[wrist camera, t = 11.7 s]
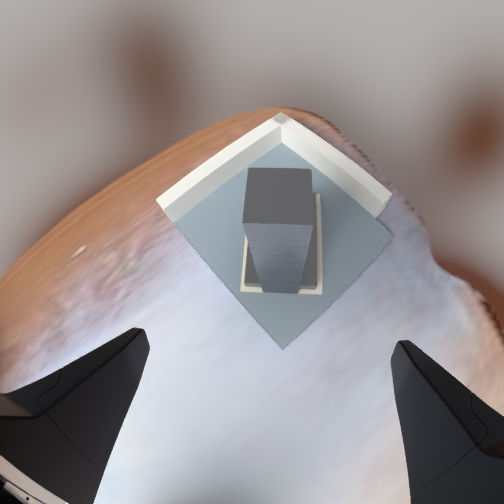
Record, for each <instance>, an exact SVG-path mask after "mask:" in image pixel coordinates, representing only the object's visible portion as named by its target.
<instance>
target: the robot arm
mask: <svg viewBox="0 0 504 504" xmlns="http://www.w3.org/2000/svg"><path fill="white" fill-rule="evenodd" d="M149 350H150V346H149V342H148V339H147V336H146V333H145V330H144V329H141V328H132V329H130V330H128V331H126V332H125V333H123V334H121V335H119V336H118V337H116V338H114V339H112V340H111V341H109V342H107V343H105V344H103V345H102V346H100V347H98V348H96V349H95V350H93V351H91V352H89V353H87V354H86V355H84V356H82V357H80V358H79V359H77V360H75V361H73V362H71V363H70V364H68V365H66V366H64V367H63V368H61V369H59V370H57V371H55V372H53V373H52V374H50V375H48V376H46V377H44V378H42V379H40V380H37V381H35V382H33V383H31V384H29V385H26V386H24V387H22V388H19V389H17V390H15V391H12V392H10V393H4V394H0V504H65V503H66V502H67V503H69V504H93V503H94V500H95V497H96V494H97V491H98V488H99V485H100V482H101V480H102V477H103V474H104V471H105V468H106V465H107V463H108V460H109V457H110V455H111V452H112V449H113V447H114V444H115V442H116V439H117V437H118V434H119V431H120V429H121V427H122V424H123V422H124V419H125V417H126V414H127V412H128V409H129V407H130V405H131V402H132V400H133V397H134V395H135V393H136V390H137V388H138V386H139V383H140V380H141V377H142V373H143V370H144V367H145V364H146V360H147V357H148V354H149ZM391 369H392V377H393V385H394V394H395V401H396V406H397V411H398V416H399V421H400V426H401V431H402V437H403V443H404V449H405V455H406V462H407V470H408V478H409V487H410V497H411V498H410V499H411V504H504V416H502V415H501V414H499V413H498V412H497V411H495V410H494V409H492V408H491V407H490V406H488V405H487V404H486V403H485V402H483V401H482V400H481V399H480V398H479V397H477V396H476V395H475V394H474V393H472V392H471V391H470V390H469V389H468V388H467V387H466V386H464V385H463V384H462V383H461V382H460V381H458V380H457V379H456V378H455V377H454V376H452V375H451V374H450V373H449V372H448V371H446V370H445V369H444V368H443V367H442V366H440V365H439V364H438V363H437V362H435V361H434V360H433V359H432V358H431V357H429V356H428V355H427V354H426V353H424V352H423V351H422V350H421V349H419V348H418V347H417V346H416V345H414V344H413V343H412V342H411V341H409V340H400V341H398V342H397V344H396V346H395V349H394V352H393V354H392V357H391Z"/></svg>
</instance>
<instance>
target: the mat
mask: <svg viewBox="0 0 504 504" xmlns="http://www.w3.org/2000/svg"><path fill="white" fill-rule="evenodd" d="M248 168H302V169H312V192H316V206H317V287H316V289H315V290H309V289H299V291H298V294H286V293H265V292H263V291H262V288H261V287H246V286H245V284H244V277H245V267H246V256H247V245H248V241H247V238H246V234H245V231H244V228H243V224H242V219H243V210H244V201H245V192H246V183H247V174H248ZM174 224H175V225H176V227H177V228H178V229H179V230H180V232H181V233H182V234H183V235H184V237H185V238H186V239H187V240H188V241H189V243H190V244H191V245H192V246H193V248H194V249H195V250H196V251H197V252H198V254H199V255H200V256H201V257H202V258H203V260H204V261H205V262H206V263H207V264H208V266H209V267H210V268H211V269H212V270H213V272H214V273H215V274H216V275H217V276H218V277H219V279H220V280H221V281H222V282H223V283H224V284H225V286H226V287H227V288H228V289H229V290H230V291H231V293H232V294H233V295H234V296H235V297H236V298H237V299H238V301H239V302H240V303H241V304H242V305H243V306H244V307H245V309H246V310H247V311H248V312H249V313H250V314H251V315H252V317H253V318H254V319H255V320H256V321H257V322H258V323H259V324H260V326H261V327H262V328H263V329H264V330H265V331H266V332H267V333H268V334H269V335H270V337H271V338H272V339H273V340H274V341H275V342H276V343H277V344H278V345H279V346H280V348H281V349H282V350H283V349H284V348H285V347H286V346H287V345H289V344H290V343H291V342H292V341H293V340H294V339H295V338H296V337H297V336H299V335H300V334H301V333H302V332H303V331H304V330H305V329H306V328H307V327H308V326H309V325H310V324H312V323H313V322H314V321H315V320H316V319H317V318H318V317H319V316H320V315H321V314H322V313H323V312H324V311H325V310H326V309H327V308H328V307H329V306H330V305H331V304H332V303H333V302H334V301H335V300H336V299H337V298H338V297H339V296H340V295H341V294H342V293H343V292H344V291H345V290H346V289H347V288H348V287H349V286H350V285H351V284H352V283H353V282H354V281H355V280H356V279H357V278H358V277H359V276H360V275H361V274H362V273H363V272H364V270H365V269H366V268H367V267H368V266H369V265H370V264H371V263H372V262H373V261H374V260H375V258H376V257H377V256H378V255H379V254H380V253H381V252H382V251H383V250H384V248H385V247H386V246H387V245H388V244H389V243H390V242H391V240H392V239H393V238H394V237H395V236H394V235H393V234H392V233H391V232H390V231H389V230H388V229H387V228H386V227H384V226H383V225H382V224H381V223H380V222H379V221H378V220H377V219H376V218H375V217H374V216H373V215H371V214H370V213H369V212H368V211H367V210H366V209H365V208H364V207H363V206H361V205H360V204H359V203H358V202H357V201H356V200H354V199H353V198H352V197H351V196H350V195H349V194H347V193H346V192H345V191H344V190H343V189H342V188H340V187H339V186H338V185H337V184H335V183H334V182H333V181H332V180H331V179H329V178H328V177H327V176H326V175H324V174H323V173H322V172H321V171H319V170H318V169H317V168H315V167H314V166H313V165H312V164H310V163H309V162H308V161H306V160H305V159H304V158H302V157H301V156H300V155H298V154H297V153H296V152H294V151H293V150H292V149H290V148H289V147H287V146H286V145H285V144H283V143H281V144H279V145H278V146H276V147H275V148H273V149H272V150H270V151H269V152H267V153H266V154H264V155H263V156H262V157H260V158H259V159H257V160H256V161H255V162H253V163H252V164H250V165H249V166H248V167H246V168H245V169H243V170H242V171H241V172H239V173H238V174H237V175H235V176H234V177H232V178H231V179H230V180H228V181H227V182H226V183H224V184H223V185H222V186H220V187H219V188H218V189H216V190H215V191H214V192H212V193H211V194H210V195H209V196H207V197H206V198H205V199H203V200H202V201H201V202H200V203H198V204H197V205H196V206H194V207H193V208H192V209H191V210H189V211H188V212H187V213H186V214H184V215H183V216H182V217H181V218H179V219H178V220H177V221H176V222H175V223H174Z"/></svg>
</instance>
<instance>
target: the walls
mask: <svg viewBox="0 0 504 504" xmlns="http://www.w3.org/2000/svg"><path fill="white" fill-rule="evenodd" d="M281 143H283V144H285V145H286V146H287V147H289V148H290V149H292V150H293V151H294V152H296V153H297V154H298V155H300V156H301V157H302V158H304V159H305V160H306V161H308V162H309V163H310V164H312V165H313V166H314V167H315V168H317V169H318V170H319V171H321V172H322V173H323V174H324V175H326V176H327V177H328V178H329V179H331V180H332V181H333V182H334V183H335V184H337V185H338V186H339V187H340V188H342V189H343V190H344V191H345V192H346V193H347V194H349V195H350V196H351V197H352V198H353V199H354V200H356V201H357V202H358V203H359V204H360V205H361V206H363V207H364V208H365V209H366V210H367V211H368V212H369V213H370V214H371V215H373V216H374V217H375V218H377V216H378V215H379V214H380V213H381V212H382V211H383V210H384V208H385V206H386V205H387V203H388V201H389V199H390V198H391V196H392V193H391V192H390V191H389V190H388V189H386V188H385V187H384V186H383V185H382V184H380V183H379V182H378V181H377V180H376V179H374V178H373V177H372V176H371V175H370V174H368V173H367V172H366V171H365V170H363V169H362V168H361V167H360V166H358V165H357V164H356V163H354V162H353V161H352V160H351V159H349V158H348V157H347V156H345V155H344V154H343V153H341V152H340V151H339V150H337V149H336V148H334V147H333V146H332V145H330V144H329V143H327V142H326V141H325V140H323V139H322V138H320V137H319V136H317V135H316V134H314V133H313V132H311V131H310V130H309V129H307V128H305V127H304V126H302V125H301V124H299V123H298V122H296V121H295V120H293V119H292V118H290V117H288V116H287V115H285V114H284V113H282V112H281V113H279V114H278V115H276V116H274V117H273V118H271V119H269V120H268V121H266V122H264V123H263V124H261V125H260V126H258V127H256V128H255V129H253V130H252V131H250V132H249V133H247V134H246V135H244V136H242V137H241V138H239V139H238V140H236V141H235V142H233V143H232V144H230V145H229V146H227V147H226V148H224V149H223V150H222V151H220V152H219V153H217V154H216V155H214V156H213V157H212V158H210V159H209V160H207V161H206V162H205V163H203V164H202V165H200V166H199V167H198V168H196V169H195V170H194V171H192V172H191V173H189V174H188V175H187V176H185V177H184V178H183V179H181V180H180V181H179V182H178V183H176V184H175V185H174V186H172V187H171V188H170V189H169V190H167V191H166V192H165V193H163V194H162V195H161V196H160V197H158V198H157V199H156V201H157V202H158V203H159V205H160V206H161V207H162V209H163V210H164V211H165V213H166V214H167V215H168V217H169V218H170V219H171V220H172V222H173V223H175V222H176V221H177V220H178V219H179V218H181V217H182V216H183V215H184V214H186V213H187V212H188V211H189V210H191V209H192V208H193V207H194V206H196V205H197V204H198V203H200V202H201V201H202V200H203V199H205V198H206V197H207V196H209V195H210V194H211V193H212V192H214V191H215V190H216V189H218V188H219V187H220V186H222V185H223V184H224V183H226V182H227V181H228V180H230V179H231V178H232V177H234V176H235V175H237V174H238V173H239V172H241V171H242V170H243V169H245V168H246V167H248V166H249V165H250V164H252V163H253V162H255V161H256V160H257V159H259V158H260V157H262V156H263V155H264V154H266V153H267V152H269V151H270V150H272V149H273V148H275V147H276V146H278V145H279V144H281Z"/></svg>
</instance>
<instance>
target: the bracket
mask: <svg viewBox="0 0 504 504" xmlns="http://www.w3.org/2000/svg"><path fill="white" fill-rule="evenodd" d="M242 224H243V228H244V231H245V234H246V238H247V241H248V245H247V256H246V267H245V277H244V284H245V286H246V287H261V288H262V291H263V292H265V293H286V294H298V291H299V289H309V290H315V289H316V287H317V206H316V192H312V169H302V168H248V174H247V183H246V192H245V201H244V210H243V219H242Z"/></svg>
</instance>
